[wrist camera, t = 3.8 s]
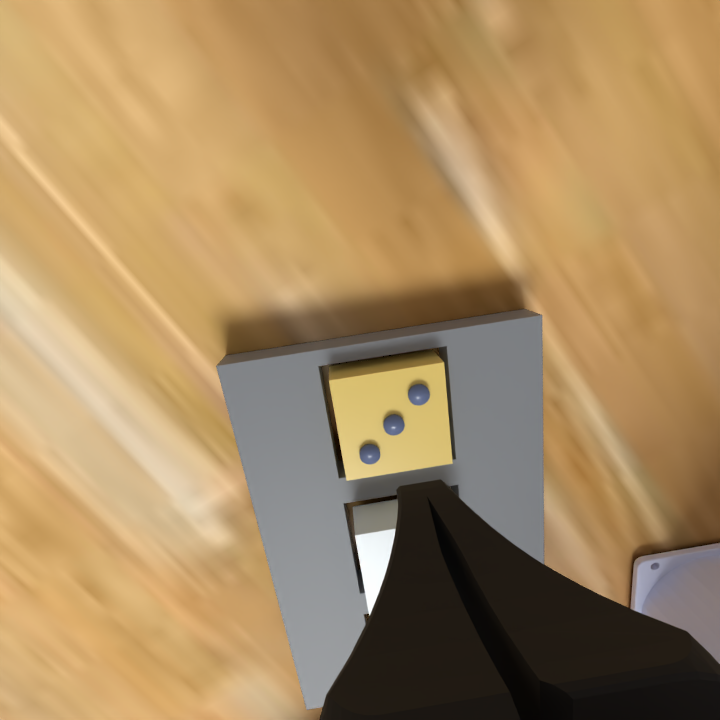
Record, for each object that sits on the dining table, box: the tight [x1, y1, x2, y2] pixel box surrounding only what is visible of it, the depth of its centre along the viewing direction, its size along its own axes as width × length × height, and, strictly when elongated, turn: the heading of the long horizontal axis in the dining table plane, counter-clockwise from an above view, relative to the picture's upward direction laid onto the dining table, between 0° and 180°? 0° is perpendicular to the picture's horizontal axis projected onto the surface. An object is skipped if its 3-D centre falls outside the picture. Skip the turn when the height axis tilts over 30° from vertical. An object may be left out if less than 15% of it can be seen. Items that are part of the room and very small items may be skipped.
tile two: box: [353, 499, 398, 616], centre depth 19 cm, size 5×5×2 cm
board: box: [216, 309, 544, 710], centre depth 21 cm, size 14×21×2 cm, turn 8°
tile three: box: [329, 349, 453, 481], centre depth 18 cm, size 5×5×2 cm
